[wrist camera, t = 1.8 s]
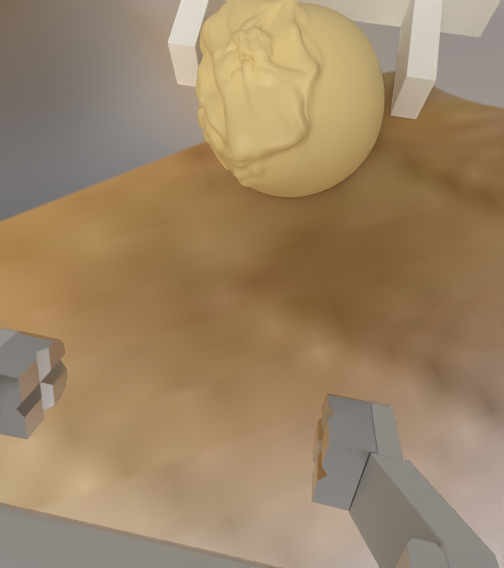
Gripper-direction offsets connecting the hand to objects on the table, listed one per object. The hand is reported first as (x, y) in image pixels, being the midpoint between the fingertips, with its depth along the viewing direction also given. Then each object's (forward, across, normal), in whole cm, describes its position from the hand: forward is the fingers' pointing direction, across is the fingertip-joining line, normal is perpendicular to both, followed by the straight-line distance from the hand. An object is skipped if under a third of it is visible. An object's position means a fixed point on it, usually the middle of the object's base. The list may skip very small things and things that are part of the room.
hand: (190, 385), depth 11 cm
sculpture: (+26, 0, -1) cm, 26 cm away
